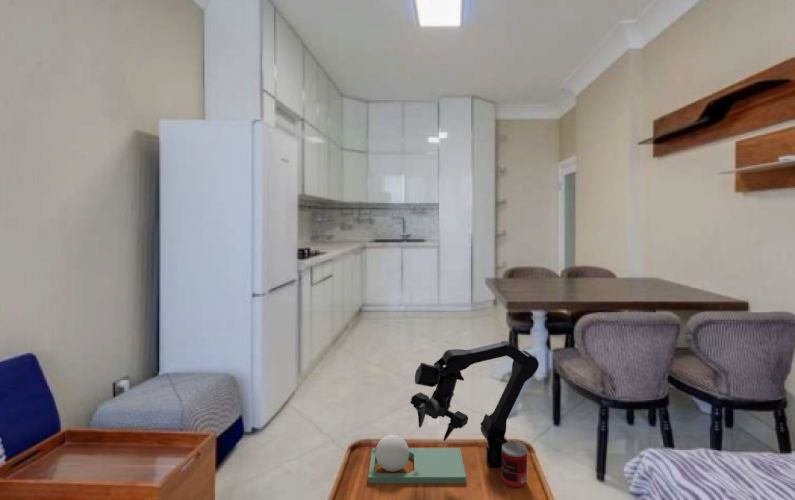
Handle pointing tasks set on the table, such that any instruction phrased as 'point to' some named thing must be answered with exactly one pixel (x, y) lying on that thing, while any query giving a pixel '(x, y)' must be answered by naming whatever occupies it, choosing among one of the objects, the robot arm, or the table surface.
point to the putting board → (425, 467)
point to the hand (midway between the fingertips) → (432, 433)
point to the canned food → (514, 464)
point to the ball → (392, 453)
